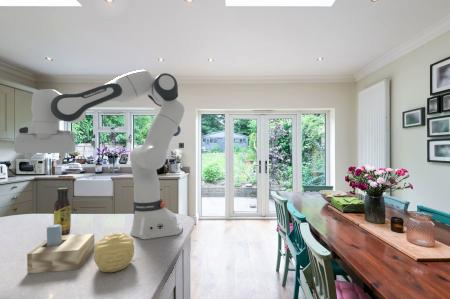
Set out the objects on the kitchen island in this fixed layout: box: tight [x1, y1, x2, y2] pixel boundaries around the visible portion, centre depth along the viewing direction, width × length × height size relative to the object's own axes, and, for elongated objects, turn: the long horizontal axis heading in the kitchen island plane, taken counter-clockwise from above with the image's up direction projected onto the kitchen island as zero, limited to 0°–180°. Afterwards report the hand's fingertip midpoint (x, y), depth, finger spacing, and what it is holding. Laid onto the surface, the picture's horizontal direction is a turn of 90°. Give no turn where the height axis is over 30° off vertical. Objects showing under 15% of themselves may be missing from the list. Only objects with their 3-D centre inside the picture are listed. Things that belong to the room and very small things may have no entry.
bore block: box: [26, 233, 95, 274], centre depth 78 cm, size 14×14×6 cm
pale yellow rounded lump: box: [93, 232, 135, 273], centre depth 74 cm, size 12×12×11 cm
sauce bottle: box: [53, 187, 72, 235], centre depth 103 cm, size 7×6×20 cm
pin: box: [46, 224, 63, 247], centre depth 78 cm, size 4×4×10 cm
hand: (46, 164), depth 93 cm, fingers open, 8 cm apart
